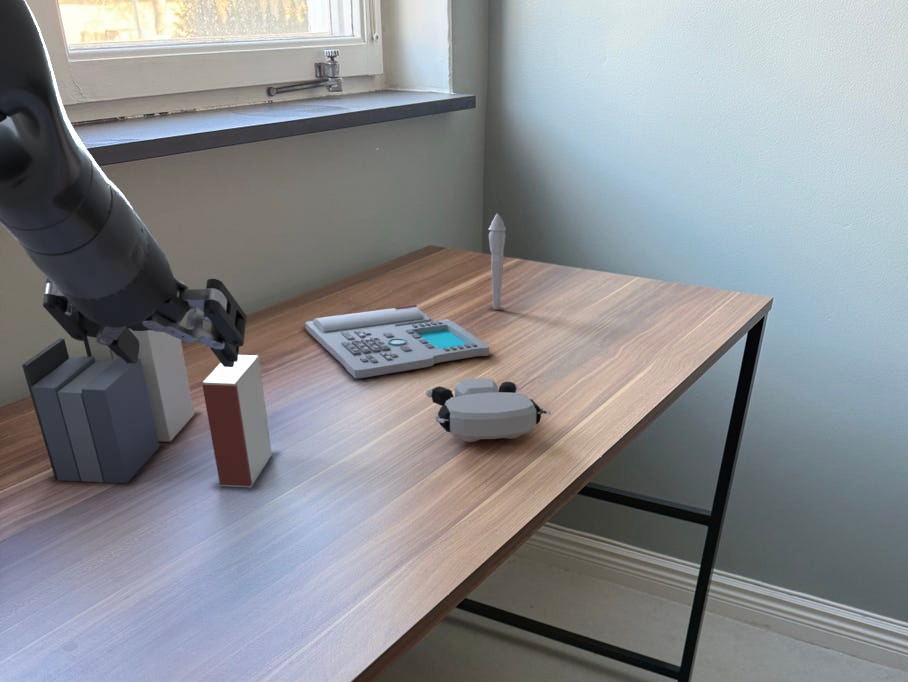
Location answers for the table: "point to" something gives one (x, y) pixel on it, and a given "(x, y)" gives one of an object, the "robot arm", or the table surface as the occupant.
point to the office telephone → (393, 340)
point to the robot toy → (485, 410)
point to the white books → (158, 378)
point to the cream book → (238, 421)
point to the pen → (497, 257)
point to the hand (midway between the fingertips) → (182, 355)
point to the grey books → (91, 415)
